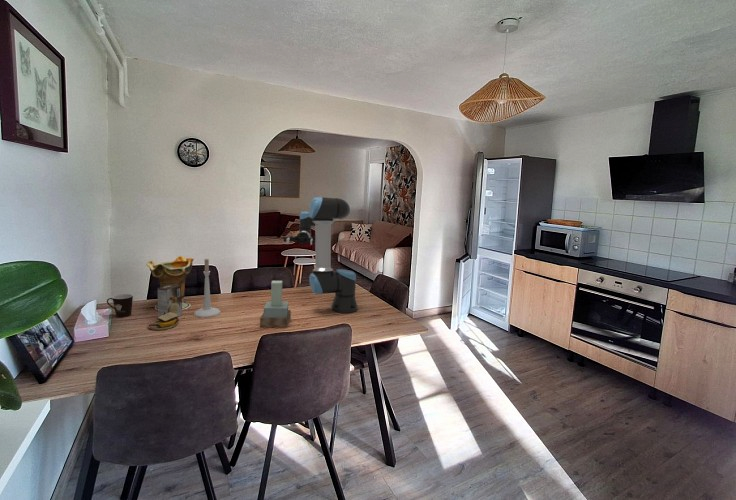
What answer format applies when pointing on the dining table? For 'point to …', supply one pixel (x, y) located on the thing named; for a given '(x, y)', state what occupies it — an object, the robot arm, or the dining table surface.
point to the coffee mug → (122, 304)
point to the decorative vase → (172, 274)
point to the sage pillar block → (276, 293)
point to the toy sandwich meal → (164, 322)
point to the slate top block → (275, 310)
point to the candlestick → (207, 297)
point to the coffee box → (169, 300)
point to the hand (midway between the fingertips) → (299, 242)
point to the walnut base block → (275, 321)
